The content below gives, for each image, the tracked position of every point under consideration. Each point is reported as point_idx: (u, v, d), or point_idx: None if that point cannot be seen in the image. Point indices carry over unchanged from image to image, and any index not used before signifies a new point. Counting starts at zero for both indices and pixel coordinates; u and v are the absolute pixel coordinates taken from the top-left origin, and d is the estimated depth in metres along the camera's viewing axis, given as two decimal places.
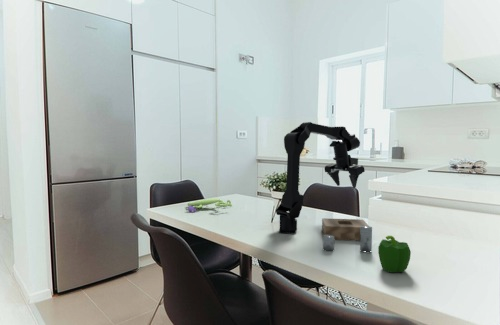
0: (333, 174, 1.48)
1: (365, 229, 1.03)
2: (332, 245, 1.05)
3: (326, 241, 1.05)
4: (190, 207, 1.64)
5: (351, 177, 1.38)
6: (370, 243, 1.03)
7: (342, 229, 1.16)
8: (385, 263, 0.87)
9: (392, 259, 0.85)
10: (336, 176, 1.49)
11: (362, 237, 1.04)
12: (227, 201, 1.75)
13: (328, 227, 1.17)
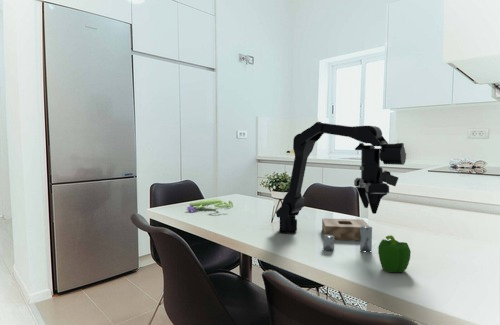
0: (360, 190, 1.10)
1: (365, 229, 1.03)
2: (332, 245, 1.05)
3: (326, 241, 1.05)
4: (190, 207, 1.64)
5: (367, 195, 0.99)
6: (370, 243, 1.03)
7: (342, 229, 1.16)
8: (385, 263, 0.87)
9: (392, 259, 0.85)
10: (365, 194, 1.10)
11: (362, 237, 1.04)
12: None
13: (328, 227, 1.17)
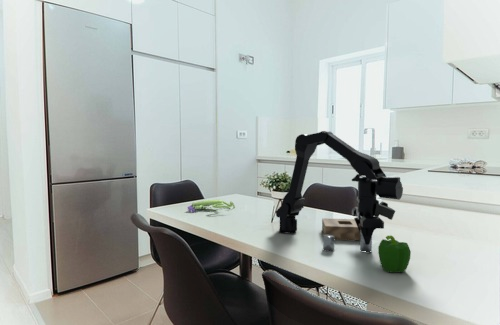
0: (359, 222, 1.07)
1: None
2: (332, 245, 1.05)
3: (326, 241, 1.05)
4: (189, 207, 1.64)
5: (360, 227, 1.01)
6: (370, 243, 1.03)
7: (342, 229, 1.16)
8: (385, 263, 0.87)
9: (392, 259, 0.85)
10: None
11: (362, 237, 1.04)
12: (230, 203, 1.70)
13: (328, 227, 1.17)
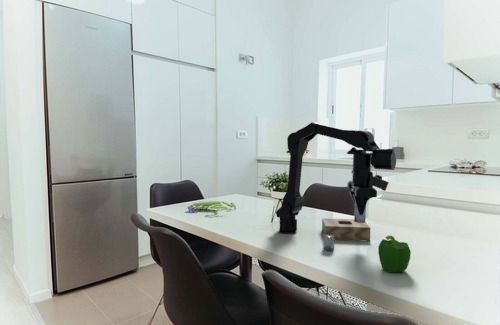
0: (354, 194, 1.10)
1: None
2: (332, 245, 1.05)
3: (326, 241, 1.05)
4: (189, 207, 1.64)
5: (354, 197, 1.05)
6: (364, 213, 1.07)
7: (342, 229, 1.16)
8: (385, 263, 0.87)
9: (392, 259, 0.85)
10: None
11: (356, 208, 1.07)
12: (230, 203, 1.68)
13: (328, 227, 1.17)
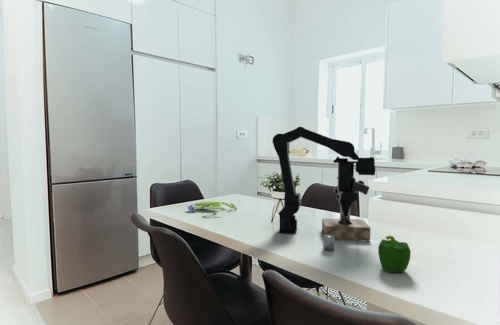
0: (339, 198, 1.24)
1: None
2: (332, 245, 1.05)
3: (326, 241, 1.05)
4: (189, 207, 1.64)
5: (339, 201, 1.18)
6: (348, 215, 1.20)
7: (342, 229, 1.16)
8: (385, 263, 0.87)
9: (392, 259, 0.85)
10: None
11: (341, 210, 1.21)
12: None
13: (328, 227, 1.17)
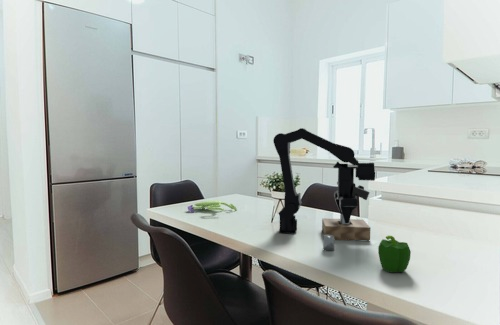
0: (338, 202, 1.26)
1: None
2: (332, 245, 1.05)
3: (326, 241, 1.05)
4: (189, 207, 1.64)
5: (340, 207, 1.16)
6: None
7: (342, 229, 1.16)
8: (385, 263, 0.87)
9: (392, 259, 0.85)
10: None
11: (341, 223, 1.21)
12: (230, 205, 1.64)
13: (328, 227, 1.17)
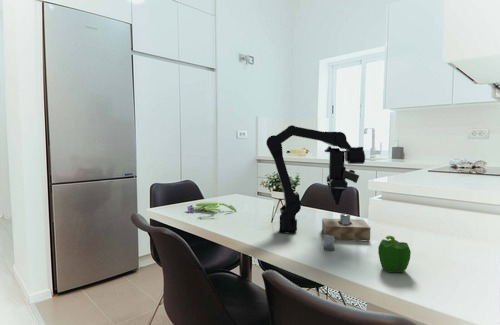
0: None
1: (344, 216, 1.20)
2: (332, 245, 1.05)
3: (326, 241, 1.05)
4: (189, 207, 1.64)
5: (330, 189, 1.21)
6: None
7: (342, 229, 1.16)
8: (385, 263, 0.87)
9: (392, 259, 0.85)
10: None
11: (341, 223, 1.21)
12: (229, 206, 1.62)
13: (328, 227, 1.17)
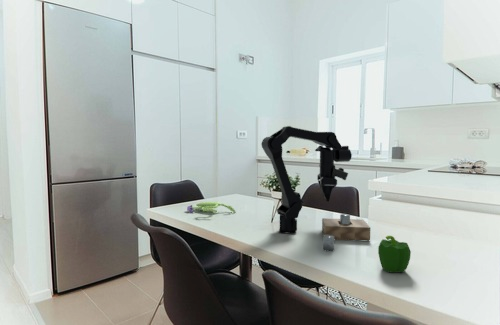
0: None
1: (344, 216, 1.20)
2: (332, 245, 1.05)
3: (326, 241, 1.05)
4: (188, 207, 1.64)
5: (321, 187, 1.27)
6: None
7: (342, 229, 1.16)
8: (385, 263, 0.87)
9: (392, 259, 0.85)
10: None
11: (341, 223, 1.21)
12: (228, 207, 1.60)
13: (328, 227, 1.17)
